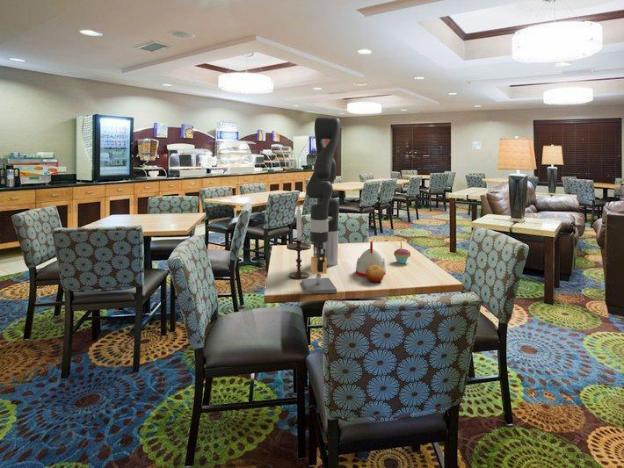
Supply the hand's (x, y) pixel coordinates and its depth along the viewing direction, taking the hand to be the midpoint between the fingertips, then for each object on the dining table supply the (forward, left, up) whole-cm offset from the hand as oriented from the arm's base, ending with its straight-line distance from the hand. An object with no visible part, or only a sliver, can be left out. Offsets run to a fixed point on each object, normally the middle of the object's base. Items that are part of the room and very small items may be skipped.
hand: (318, 269), depth 180 cm
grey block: (0, 0, -8) cm, 8 cm away
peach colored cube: (0, 0, -1) cm, 1 cm away
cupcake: (-34, +50, -8) cm, 61 cm away
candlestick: (-17, -6, -8) cm, 20 cm away
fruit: (-5, +26, -8) cm, 28 cm away
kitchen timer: (-17, +28, -8) cm, 34 cm away
